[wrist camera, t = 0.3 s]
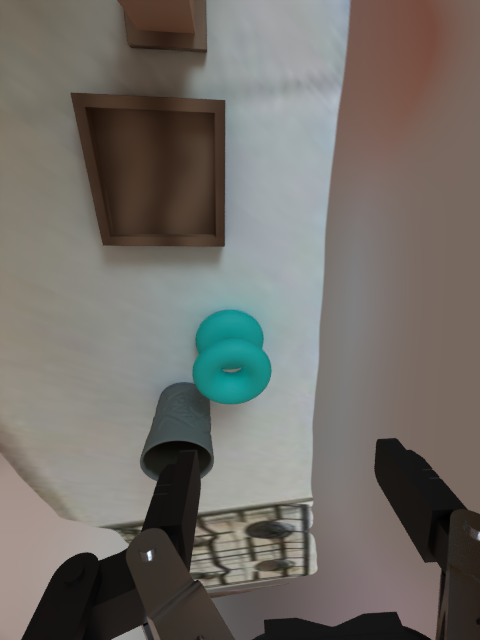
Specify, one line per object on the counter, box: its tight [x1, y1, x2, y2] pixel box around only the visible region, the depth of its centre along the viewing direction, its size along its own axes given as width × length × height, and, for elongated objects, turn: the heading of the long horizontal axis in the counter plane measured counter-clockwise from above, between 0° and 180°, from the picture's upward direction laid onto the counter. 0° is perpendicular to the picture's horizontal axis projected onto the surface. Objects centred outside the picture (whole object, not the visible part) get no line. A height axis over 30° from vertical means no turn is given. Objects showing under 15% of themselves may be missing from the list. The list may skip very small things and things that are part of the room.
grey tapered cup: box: [140, 382, 214, 481], centre depth 46 cm, size 10×10×12 cm
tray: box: [71, 93, 225, 247], centre depth 32 cm, size 14×14×2 cm
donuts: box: [193, 310, 271, 404], centre depth 40 cm, size 10×10×10 cm
